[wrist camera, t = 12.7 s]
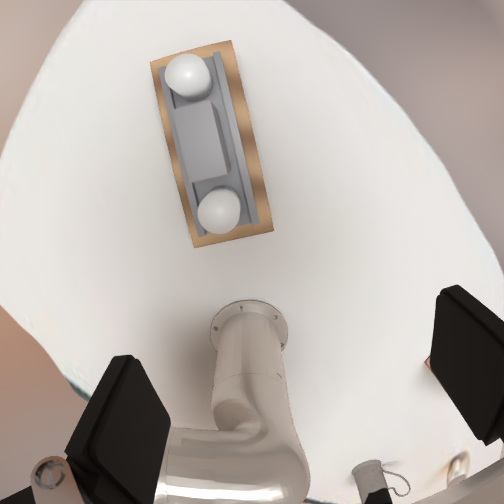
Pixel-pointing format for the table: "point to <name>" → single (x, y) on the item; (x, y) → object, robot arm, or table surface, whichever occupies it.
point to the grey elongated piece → (208, 143)
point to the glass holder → (373, 483)
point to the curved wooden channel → (246, 140)
